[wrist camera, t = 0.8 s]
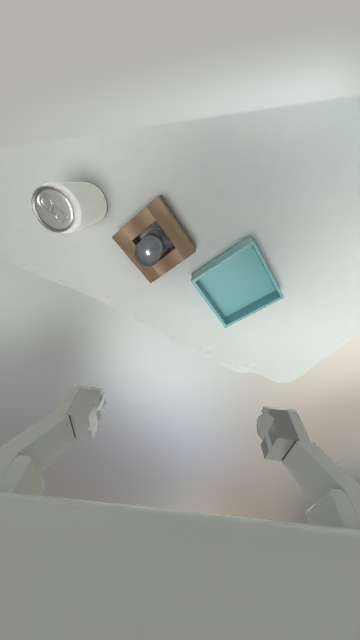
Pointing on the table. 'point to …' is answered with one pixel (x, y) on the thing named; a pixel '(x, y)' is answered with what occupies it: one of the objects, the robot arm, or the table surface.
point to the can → (68, 205)
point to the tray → (237, 283)
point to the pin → (151, 247)
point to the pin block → (171, 228)
